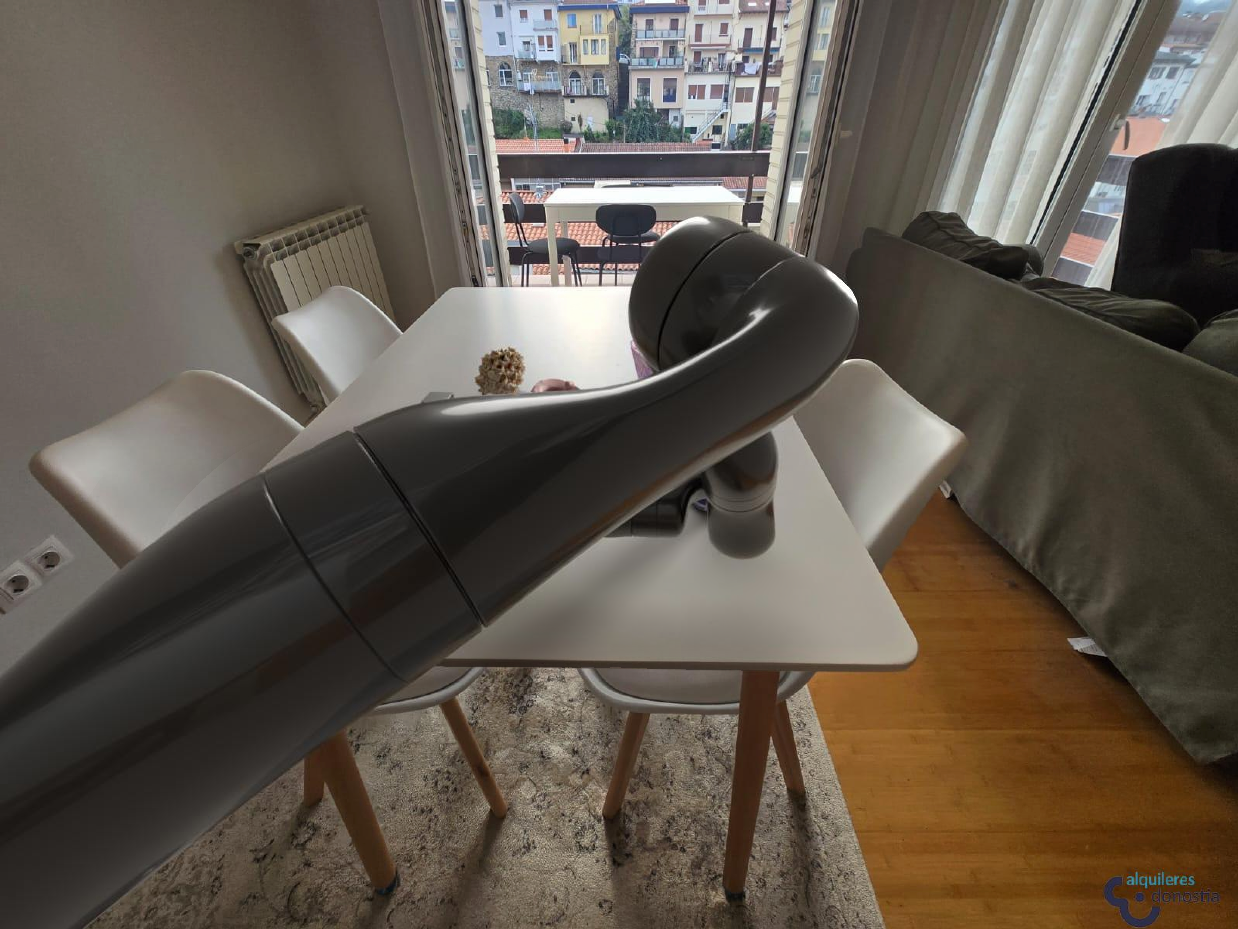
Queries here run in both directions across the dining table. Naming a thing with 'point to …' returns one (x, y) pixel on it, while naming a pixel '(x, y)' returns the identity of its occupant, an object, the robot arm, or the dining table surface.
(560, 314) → the dining table surface
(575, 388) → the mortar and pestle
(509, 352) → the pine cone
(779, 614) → the dining table surface
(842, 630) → the dining table surface
